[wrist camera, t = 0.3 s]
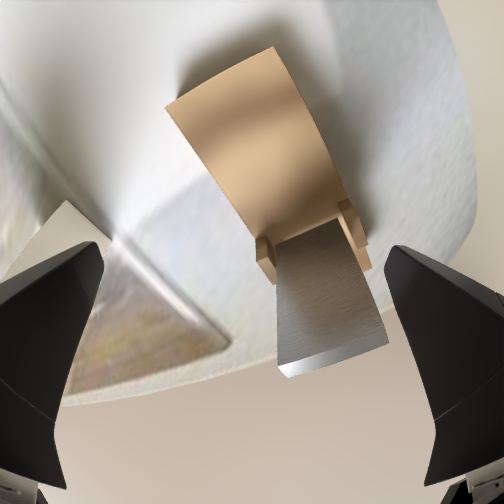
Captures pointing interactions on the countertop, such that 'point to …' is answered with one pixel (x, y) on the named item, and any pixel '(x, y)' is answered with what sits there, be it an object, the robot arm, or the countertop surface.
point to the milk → (58, 238)
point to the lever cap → (322, 302)
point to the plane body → (267, 155)
